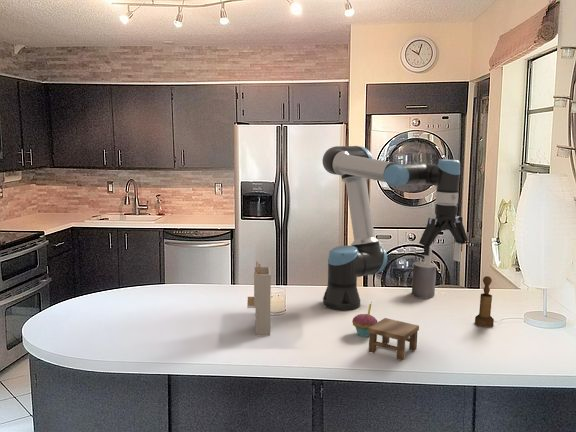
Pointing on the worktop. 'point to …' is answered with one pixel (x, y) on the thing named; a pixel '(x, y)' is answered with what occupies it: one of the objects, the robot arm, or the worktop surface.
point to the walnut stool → (393, 336)
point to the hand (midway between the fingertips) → (442, 262)
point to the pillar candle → (423, 280)
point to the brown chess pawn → (485, 306)
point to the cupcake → (364, 323)
